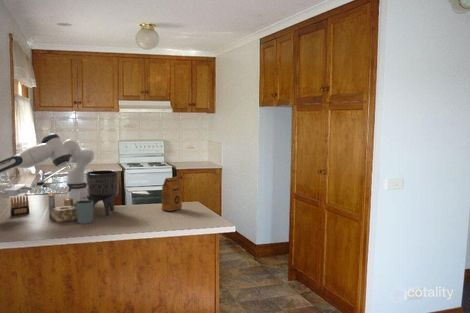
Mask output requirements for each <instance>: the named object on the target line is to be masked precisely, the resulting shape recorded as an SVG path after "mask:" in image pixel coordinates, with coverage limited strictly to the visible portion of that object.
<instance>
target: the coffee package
mask: <svg viewBox="0 0 470 313" xmlns="http://www.w3.org/2000/svg"><path fill="white" fill-rule="evenodd" d="M182 203H183V202H182V190H181V187H180V185H179V182H178V176H173V177H166V178H165V179H164V182H163V184H162V187H161V210H162V211H166V212H173V211H178V210H182V206H183V205H182Z"/></svg>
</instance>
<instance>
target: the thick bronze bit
mask: <svg viewBox="0 0 470 313" xmlns="http://www.w3.org/2000/svg"><path fill="white" fill-rule="evenodd" d="M63 206H72V207H75V204H74V201H73V199H71V198H69V199H67V198H65V199H63Z"/></svg>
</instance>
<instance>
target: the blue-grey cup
mask: <svg viewBox="0 0 470 313" xmlns="http://www.w3.org/2000/svg"><path fill="white" fill-rule="evenodd" d="M74 205H75V208H76V212H77V220H76V221H77V224H89V223H90V224H91V223H92V222H94V209H93V201H92V200H82V201H77V202H75V204H74Z"/></svg>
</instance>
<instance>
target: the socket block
mask: <svg viewBox="0 0 470 313" xmlns="http://www.w3.org/2000/svg"><path fill="white" fill-rule="evenodd" d="M51 213H52V218H51V220H52V221H54V222H56V223H58V224H61V223H66V222H73V221H77V212H76V206H74V207H72V206H64V205H63V206H57V207H56V206H55V208H51Z"/></svg>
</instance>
